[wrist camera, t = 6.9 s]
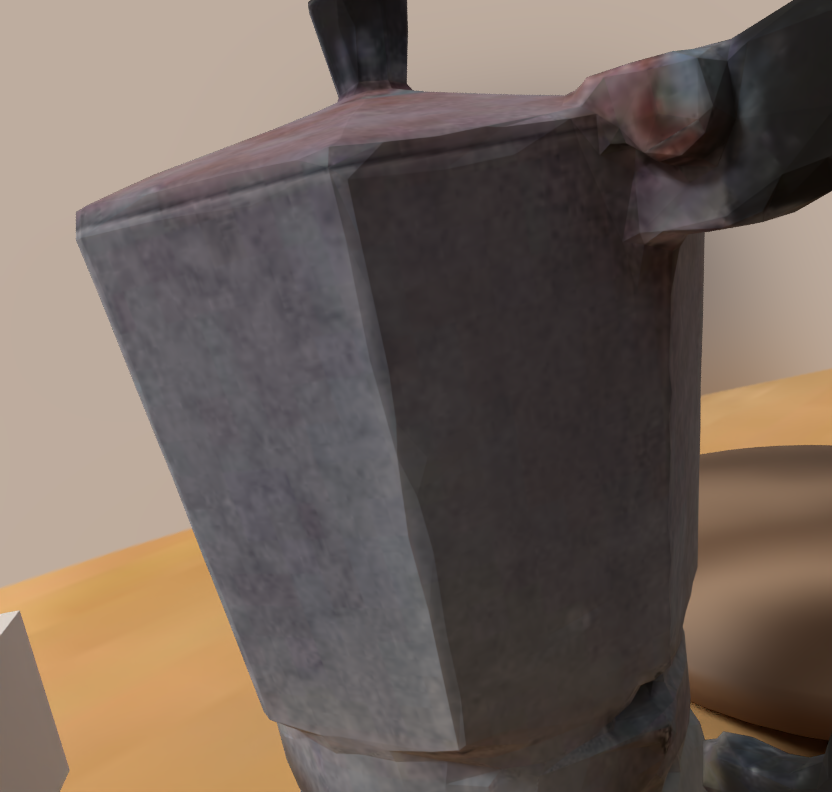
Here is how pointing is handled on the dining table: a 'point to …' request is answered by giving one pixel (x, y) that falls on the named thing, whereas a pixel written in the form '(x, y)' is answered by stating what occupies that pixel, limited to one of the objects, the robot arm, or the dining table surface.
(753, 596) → the disc
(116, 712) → the dining table surface
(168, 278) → the moka pot
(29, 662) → the robot arm
